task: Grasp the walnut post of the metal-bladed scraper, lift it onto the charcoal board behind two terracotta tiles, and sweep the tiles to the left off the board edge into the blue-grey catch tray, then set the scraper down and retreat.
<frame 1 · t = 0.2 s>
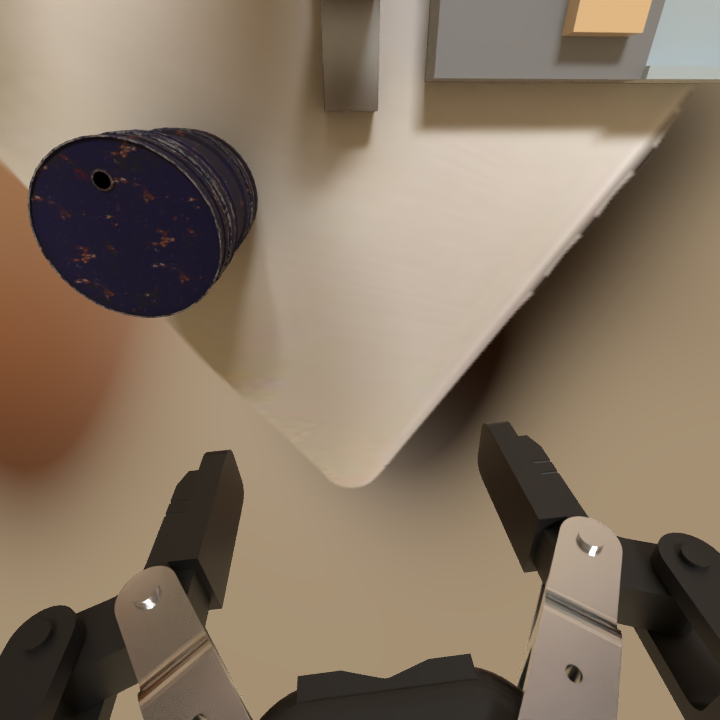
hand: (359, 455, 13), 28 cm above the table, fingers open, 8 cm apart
storage jar: (201, 193, 34), on the table
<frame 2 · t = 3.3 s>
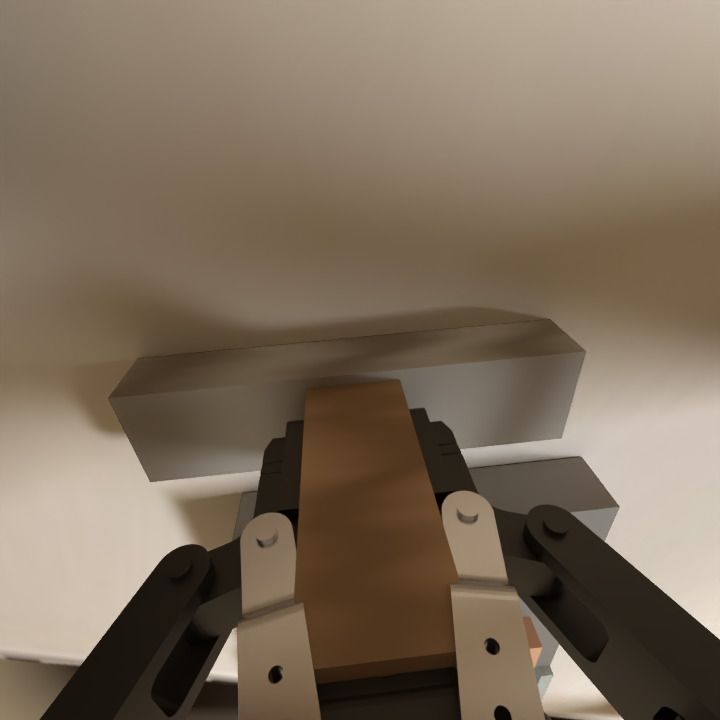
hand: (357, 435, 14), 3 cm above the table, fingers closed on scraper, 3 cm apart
board: (413, 566, 24), on the table
tile a: (481, 642, 23), point 3 cm above the table, touching board
scraper: (351, 380, 16), on the table, touching gripper
tray: (411, 664, 31), on the table
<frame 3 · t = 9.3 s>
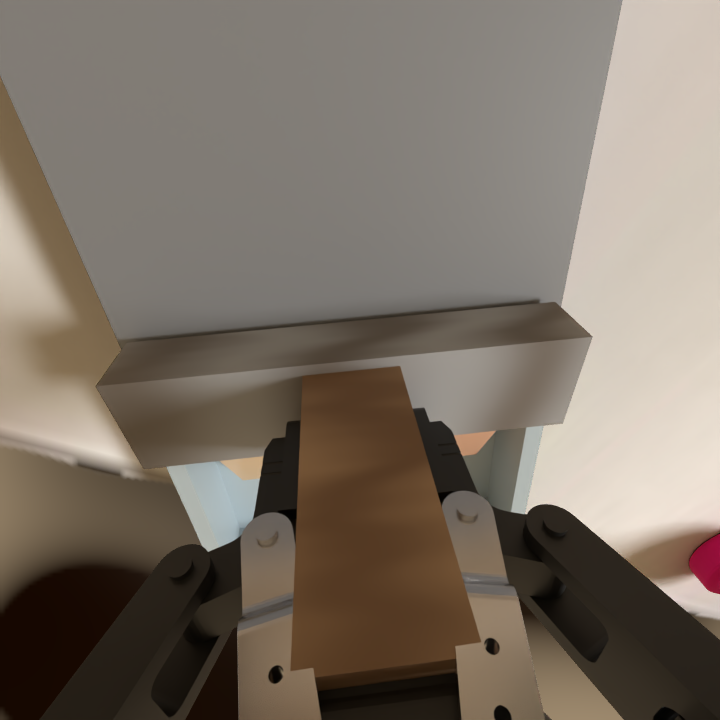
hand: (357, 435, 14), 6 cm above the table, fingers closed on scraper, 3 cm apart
tile b: (282, 431, 19), point 2 cm above the table, tilted 30°, touching scraper, tray
board: (331, 196, 16), on the table
tile a: (430, 415, 19), point 2 cm above the table, tilted 30°, touching board, scraper, tray
scraper: (349, 364, 16), point 3 cm above the table, tilted 5°, touching board, gripper, tile a, tile b, tray
tray: (358, 449, 22), on the table
when the fingers open (6 cm above the table, at t = 11.5 s): scraper stays where it is, resting on board.
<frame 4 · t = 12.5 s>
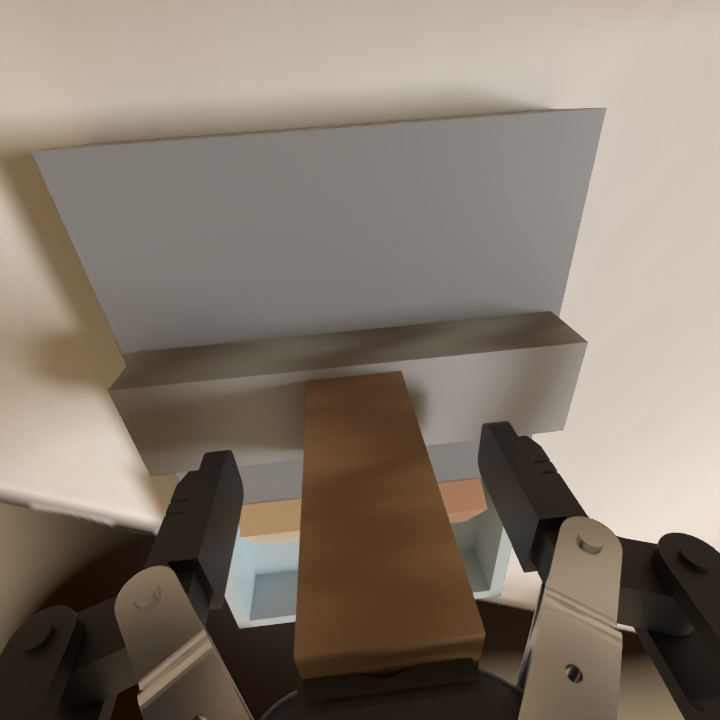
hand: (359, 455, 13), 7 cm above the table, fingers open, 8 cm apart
tile b: (298, 507, 22), point 2 cm above the table, tilted 29°, touching board, tray
board: (344, 325, 18), on the table
tile a: (425, 492, 22), point 2 cm above the table, tilted 29°, touching board, tray
scraper: (352, 373, 16), point 3 cm above the table, touching board
tray: (361, 511, 26), on the table
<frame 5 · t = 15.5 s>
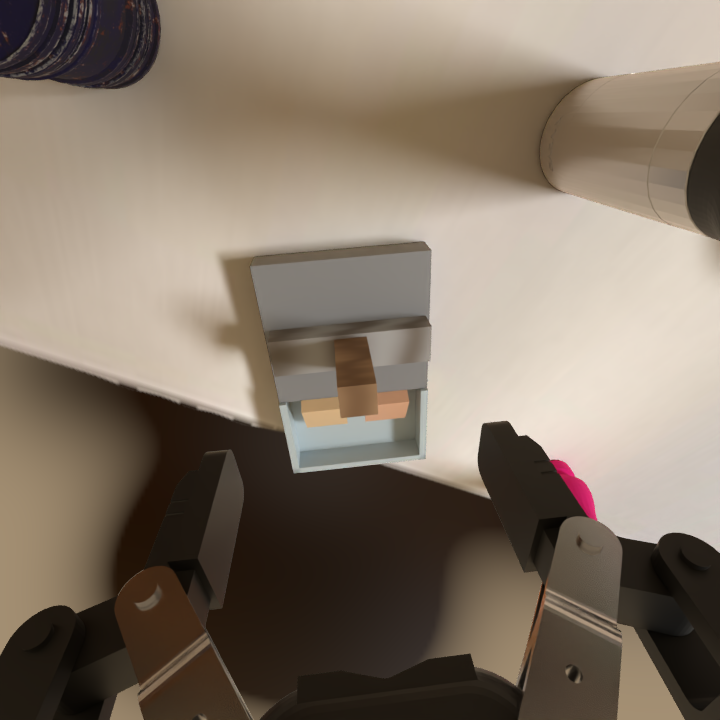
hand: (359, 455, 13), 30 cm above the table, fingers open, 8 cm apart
tile b: (324, 406, 47), point 2 cm above the table, tilted 29°, touching board, tray
board: (346, 321, 44), on the table
tile a: (384, 400, 48), point 2 cm above the table, tilted 29°, touching board, tray
storage jar: (91, 9, 29), on the table
scraper: (350, 340, 41), point 3 cm above the table, touching board
pepper mill: (547, 473, 60), on the table
tray: (355, 415, 51), on the table
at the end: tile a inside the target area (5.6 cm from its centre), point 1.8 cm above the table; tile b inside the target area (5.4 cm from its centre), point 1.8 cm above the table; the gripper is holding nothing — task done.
